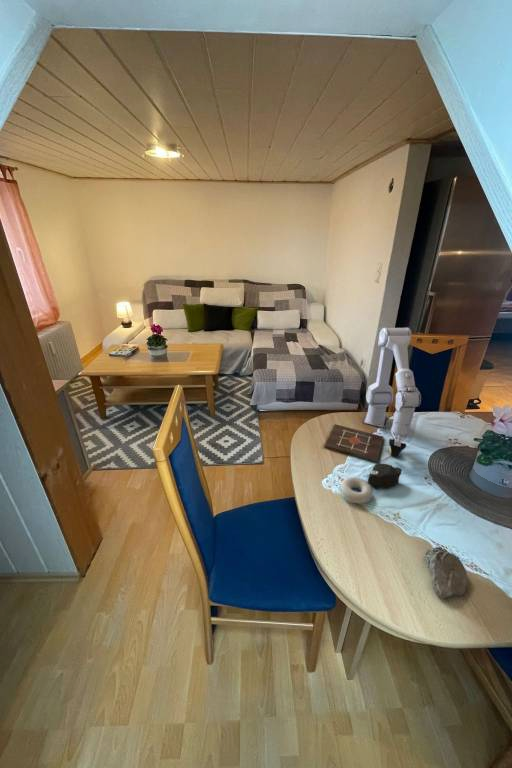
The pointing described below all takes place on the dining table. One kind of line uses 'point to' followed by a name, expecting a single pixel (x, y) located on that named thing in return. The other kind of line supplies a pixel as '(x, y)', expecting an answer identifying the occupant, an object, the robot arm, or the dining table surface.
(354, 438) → the board
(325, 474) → the dining table surface
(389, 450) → the alphabet block
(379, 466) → the mineral
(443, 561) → the brown rock
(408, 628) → the dining table surface
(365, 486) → the donut
